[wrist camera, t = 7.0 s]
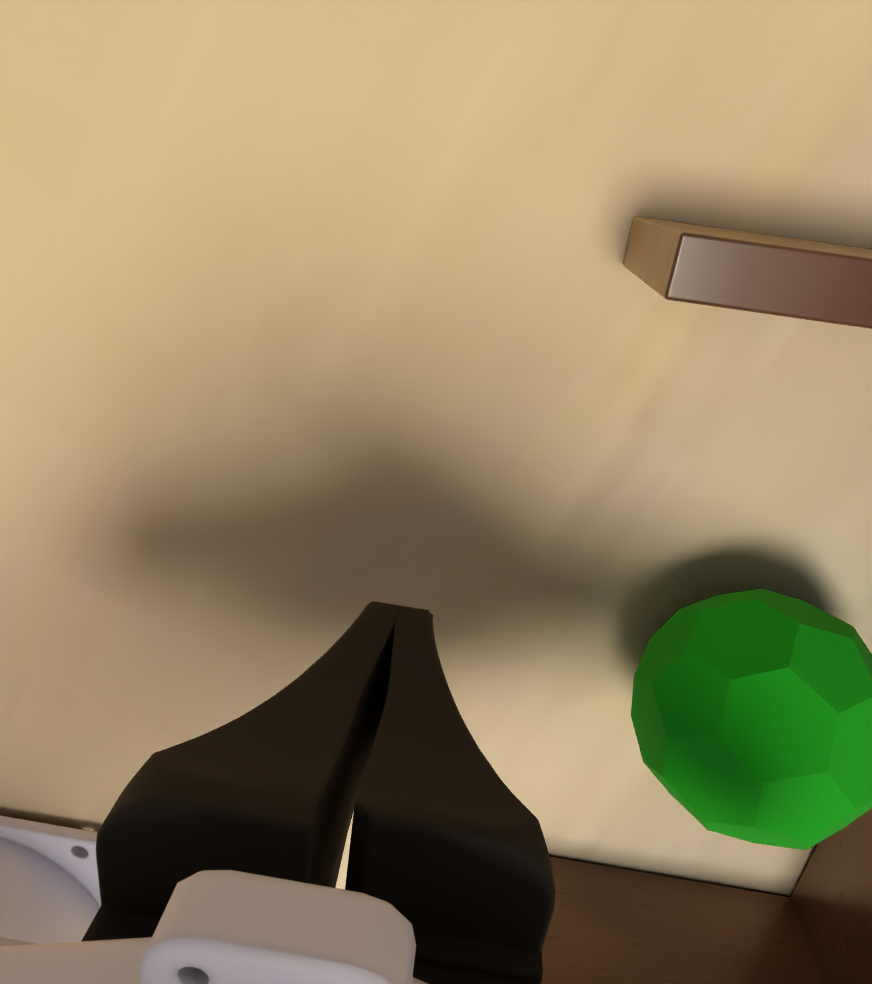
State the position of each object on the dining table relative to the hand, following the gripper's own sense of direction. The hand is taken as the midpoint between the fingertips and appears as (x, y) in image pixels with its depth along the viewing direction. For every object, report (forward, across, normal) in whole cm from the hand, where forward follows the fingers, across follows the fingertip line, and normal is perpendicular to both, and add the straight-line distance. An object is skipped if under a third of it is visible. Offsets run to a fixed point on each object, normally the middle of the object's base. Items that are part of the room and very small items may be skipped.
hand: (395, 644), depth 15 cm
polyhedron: (+2, -8, 0) cm, 8 cm away
